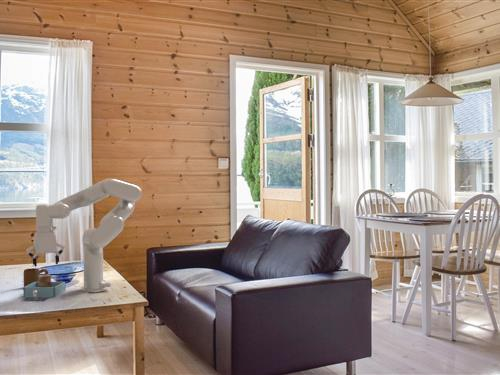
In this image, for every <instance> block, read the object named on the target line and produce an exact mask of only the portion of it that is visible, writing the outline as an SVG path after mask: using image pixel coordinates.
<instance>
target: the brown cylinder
mask: <svg viewBox="0 0 500 375" xmlns="http://www.w3.org/2000/svg"><path fill="white" fill-rule="evenodd" d="M51 282H52V276H51V274H49V273H48V274H47V275H44V274H39V287H51Z"/></svg>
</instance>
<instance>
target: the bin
mask: <svg viewBox="0 0 500 375" xmlns="http://www.w3.org/2000/svg"><path fill="white" fill-rule="evenodd" d="M66 285H67V284H66V281H51V287H39V282H34V283H31V284H29V285H27V286H25V287H24V286H23V298H27V297H34V296H33V291H34V290H37V298H57V297H58V296H60V295H61V294H63V293H64V292H66Z"/></svg>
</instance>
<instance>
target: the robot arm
mask: <svg viewBox="0 0 500 375" xmlns="http://www.w3.org/2000/svg"><path fill="white" fill-rule="evenodd" d="M142 195H143V192H142V189H141V187H139V186H138V185H135V184H132V183H130V182H129V183H128V182H125V181H122V180H119V179H115V178H105V179H103V180H101V181H99V182H96V183H94V184H92V185H90V186H87V187H86V188H85V189H82V190H80V191H77V192H75V193H73V194H71V195H68V196H67V197H65V198H62V199H60V200H58V201H56V202H54V203H52V204H48V203H42V204H41V203H40V204H37V205H36V206H35V222H36V223H35V225H36V226H35V227H36V232H35V233H34V236H33V245H32V246H29V247H28V248H26V249H25V251H26V253H27V255H28V256H29V257H30V258H31V259H32V265H33V266H34V267H36V268H37V256H38V255H43V254H51V253H52V254H53V253H54V254H55V256H54V259H55V264H56V265H58V264H59V263H60V256H61V255H62V254H63V252H64V250H65V245H63V244H59V243H57V237H56V232H55V230H57V226H54V219H55V220H56V219H57V220H58V219H59V220H63V219H66V218H68V217H69V216H70V214H71V212H73V211H75V210H77V209H80V208H83V207H89V206H92V205H93V204H96V203H98V202H99V201H102V200H104V199H107V197H110V196H112V197H114V198H117V199H119V202H118V203H117V205H116V206H114V208H112V209H111V210H110V211H109V212H108V213H106V214H105V215H104V216H103V217H102V218H101V220H100V221H99V226H98V227H89V228H88V229H86V230H85V231H84V232H83V234H82V237H81V238H82V240H81V242H82V250H83V286H82V287H80V289H79V290H80V291H83V292H88V293H101V292H104V291H106V290H107V288H111V287H112V282H106V280H105V279H104V248H105V247H106V246H107V245H108V244H110V242H112V241H113V240H114V239H115V238H116V237H117V236H118V235H119V234H120V233H121V232H122V231H123V230H124V228H125V223H124V222H126V220H127V219H128V218H130V216H131V215H132V213H133V212H134V210H135V207H136V202H137V201H139V200H140V199H141V198H142ZM58 248H60V250H58ZM31 250H33V252H34V253H32V252H31Z"/></svg>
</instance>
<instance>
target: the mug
mask: <svg viewBox="0 0 500 375" xmlns="http://www.w3.org/2000/svg"><path fill="white" fill-rule="evenodd" d="M42 273H44V274H43V275H47V274H49V270H48V269H46V268H41V269H40V268H37V267H36V268H34V267H33V268H26V269H23V287H25V286H27V285H29V284H31V283H34V282H39V275H41V274H42Z"/></svg>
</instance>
